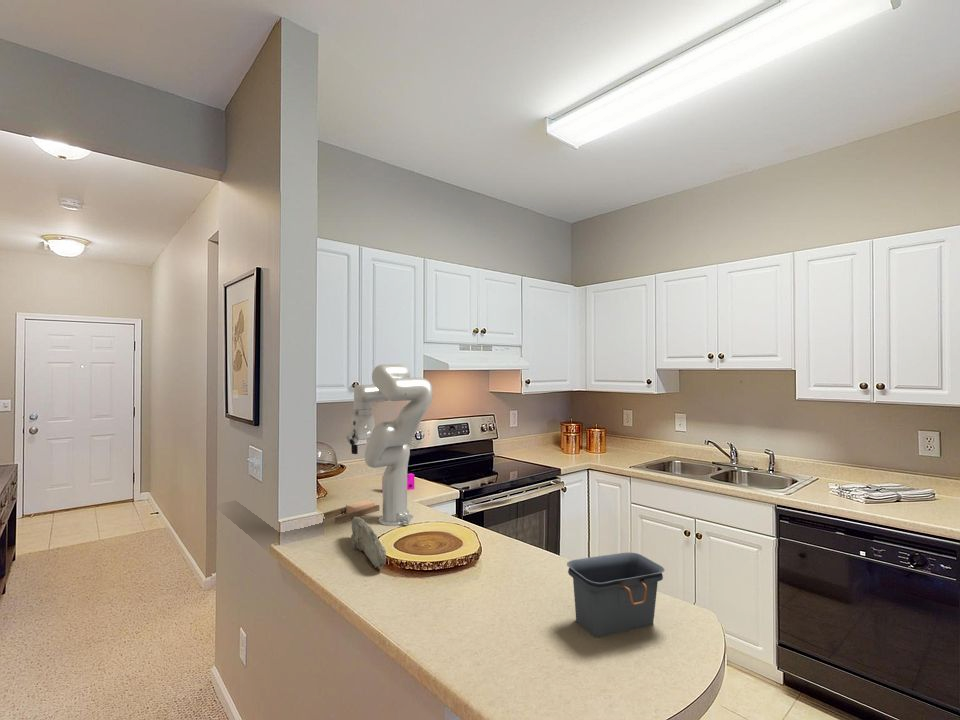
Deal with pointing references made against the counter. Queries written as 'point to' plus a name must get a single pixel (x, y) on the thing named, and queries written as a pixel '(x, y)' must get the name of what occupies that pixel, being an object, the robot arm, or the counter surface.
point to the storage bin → (614, 592)
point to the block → (359, 506)
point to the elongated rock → (367, 542)
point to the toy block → (409, 481)
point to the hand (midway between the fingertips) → (363, 452)
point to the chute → (350, 515)
